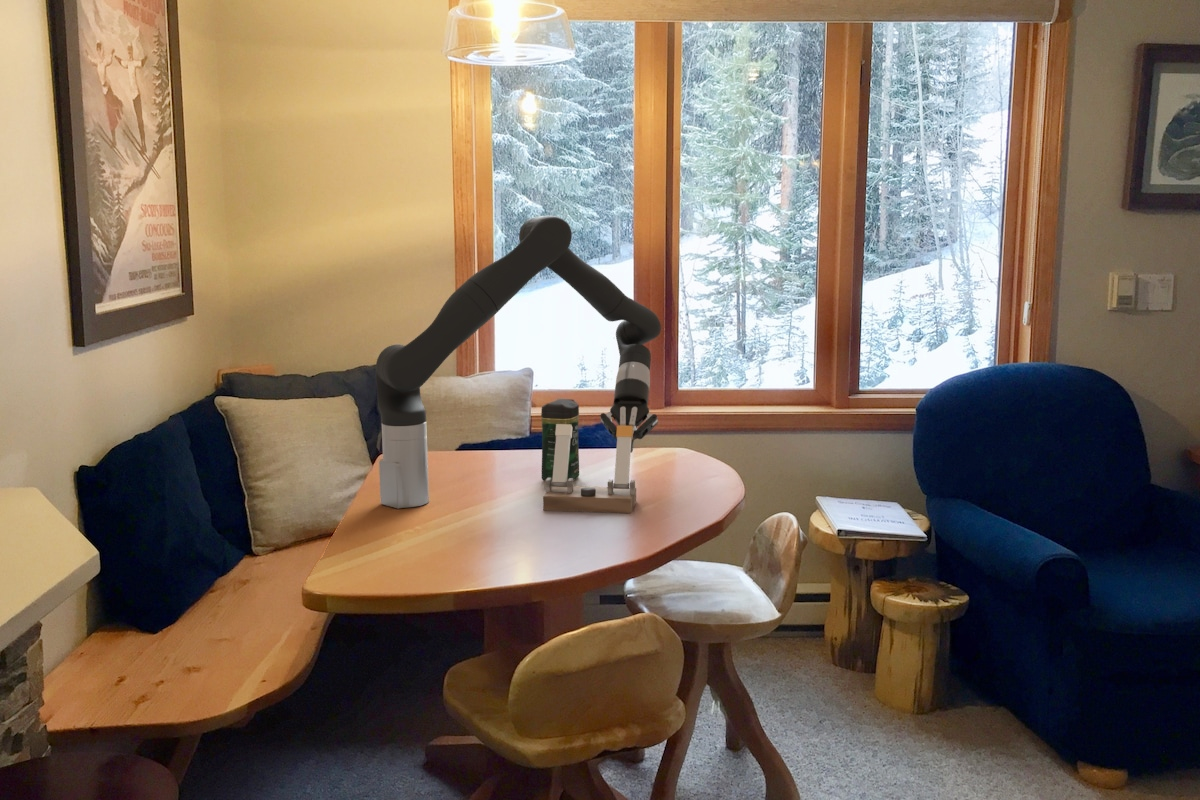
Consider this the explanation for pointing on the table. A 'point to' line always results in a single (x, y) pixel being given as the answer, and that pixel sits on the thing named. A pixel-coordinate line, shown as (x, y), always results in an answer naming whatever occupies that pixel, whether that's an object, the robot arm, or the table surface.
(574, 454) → the coffee jar
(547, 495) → the console
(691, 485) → the table surface
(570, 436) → the lever ivory
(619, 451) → the lever orange
